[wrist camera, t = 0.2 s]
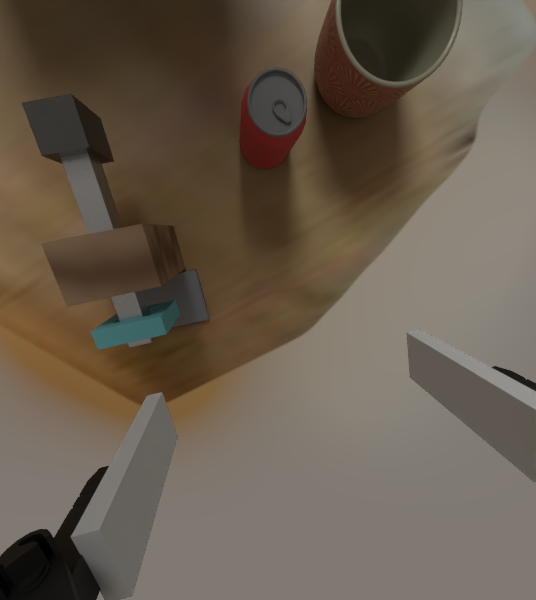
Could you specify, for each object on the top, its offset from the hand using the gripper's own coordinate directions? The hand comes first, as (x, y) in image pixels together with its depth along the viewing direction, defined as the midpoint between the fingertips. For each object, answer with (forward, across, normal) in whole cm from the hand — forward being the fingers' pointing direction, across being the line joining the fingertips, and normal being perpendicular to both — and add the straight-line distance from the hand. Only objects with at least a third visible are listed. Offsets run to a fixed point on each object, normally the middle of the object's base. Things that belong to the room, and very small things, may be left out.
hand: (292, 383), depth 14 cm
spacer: (+22, -14, 0) cm, 26 cm away
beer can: (+28, +5, +18) cm, 34 cm away
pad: (+28, -14, 0) cm, 31 cm away
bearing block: (+28, -14, +8) cm, 32 cm away
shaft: (+20, -14, +10) cm, 26 cm away
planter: (+28, +18, +24) cm, 41 cm away
